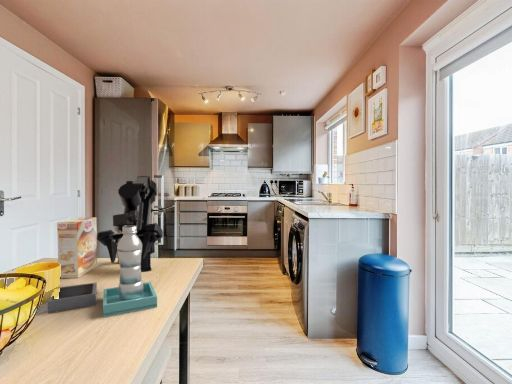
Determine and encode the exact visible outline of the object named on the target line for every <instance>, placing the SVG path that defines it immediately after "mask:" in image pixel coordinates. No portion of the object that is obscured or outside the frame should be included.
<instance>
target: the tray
mask: <svg viewBox="0 0 512 384" xmlns="http://www.w3.org/2000/svg"><path fill="white" fill-rule="evenodd" d="M118 287H119V286H116V287H110V288H109V287H108V288H103V294H102V295H103V297H102V300H103V301H102V314H103V315H102V317H103V318H105V317H111V316H116V315H121V314H127V313H132V312H138V311H143V310H147V309H153V308H157V307H158V296H157V293H156V291H155V289H154V287H153V284H152V282H151V281H148V282H143V287H144V288H143V293H142V295H141V296H140V297H139V298H137V299H132V300H122V299H121V298H120V297H119V294H118Z"/></svg>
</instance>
